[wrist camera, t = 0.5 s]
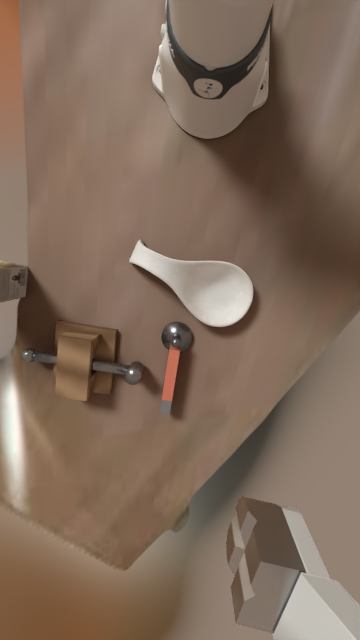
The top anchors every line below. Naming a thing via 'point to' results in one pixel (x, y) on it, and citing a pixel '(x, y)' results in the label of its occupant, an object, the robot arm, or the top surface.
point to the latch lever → (170, 379)
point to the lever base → (177, 336)
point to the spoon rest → (201, 285)
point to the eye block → (82, 359)
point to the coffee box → (12, 281)
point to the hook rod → (130, 371)
